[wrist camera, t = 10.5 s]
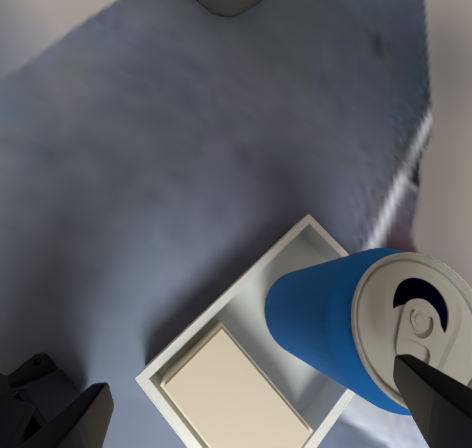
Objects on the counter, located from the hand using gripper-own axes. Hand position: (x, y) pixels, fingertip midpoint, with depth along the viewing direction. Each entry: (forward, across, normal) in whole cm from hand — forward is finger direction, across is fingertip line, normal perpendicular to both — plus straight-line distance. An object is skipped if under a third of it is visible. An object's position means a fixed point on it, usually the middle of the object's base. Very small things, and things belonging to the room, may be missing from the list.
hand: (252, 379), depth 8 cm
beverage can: (+12, -4, +6) cm, 14 cm away
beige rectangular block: (+8, +2, +10) cm, 13 cm away
